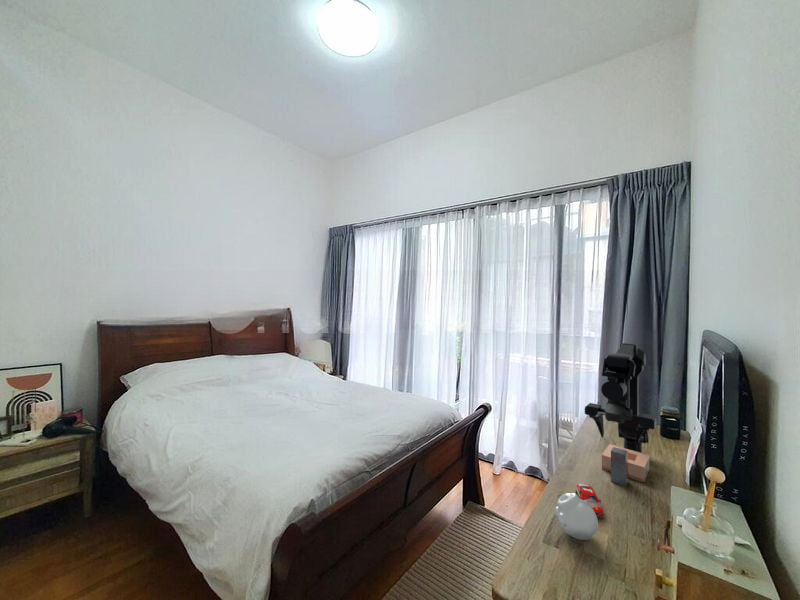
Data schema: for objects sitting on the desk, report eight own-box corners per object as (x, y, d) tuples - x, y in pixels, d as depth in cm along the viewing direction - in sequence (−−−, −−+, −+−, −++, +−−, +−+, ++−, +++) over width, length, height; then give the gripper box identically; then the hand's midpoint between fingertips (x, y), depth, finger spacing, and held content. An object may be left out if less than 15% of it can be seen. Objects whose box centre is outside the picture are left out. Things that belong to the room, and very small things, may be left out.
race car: (606, 523, 84) (606, 508, 84) (582, 518, 85) (582, 503, 86) (594, 495, 96) (594, 481, 96) (574, 491, 98) (574, 478, 98)
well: (609, 457, 119) (609, 444, 119) (649, 469, 111) (649, 455, 111) (601, 469, 111) (601, 454, 111) (644, 482, 102) (644, 467, 103)
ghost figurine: (562, 517, 85) (562, 480, 85) (602, 536, 78) (602, 496, 78) (548, 533, 79) (548, 493, 79) (591, 556, 72) (591, 512, 72)
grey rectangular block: (613, 476, 106) (613, 447, 106) (627, 481, 103) (627, 450, 103) (610, 481, 103) (610, 450, 103) (625, 486, 100) (625, 455, 100)
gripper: (579, 392, 104) (580, 440, 103) (652, 405, 91) (652, 460, 90) (588, 386, 112) (589, 430, 111) (656, 397, 98) (656, 447, 98)
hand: (618, 441), depth 103 cm, fingers open, 9 cm apart
